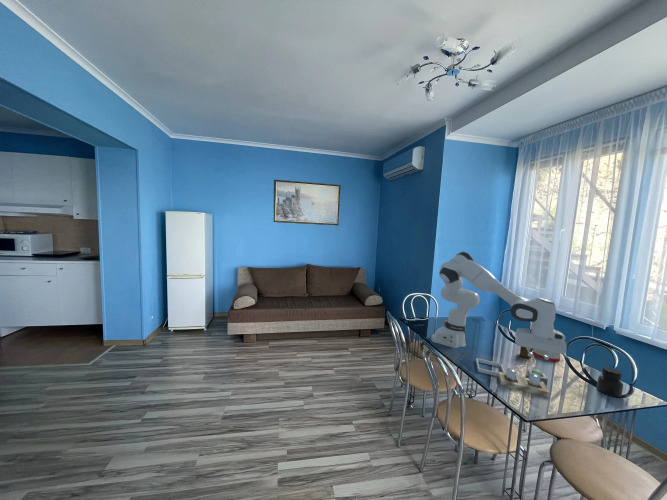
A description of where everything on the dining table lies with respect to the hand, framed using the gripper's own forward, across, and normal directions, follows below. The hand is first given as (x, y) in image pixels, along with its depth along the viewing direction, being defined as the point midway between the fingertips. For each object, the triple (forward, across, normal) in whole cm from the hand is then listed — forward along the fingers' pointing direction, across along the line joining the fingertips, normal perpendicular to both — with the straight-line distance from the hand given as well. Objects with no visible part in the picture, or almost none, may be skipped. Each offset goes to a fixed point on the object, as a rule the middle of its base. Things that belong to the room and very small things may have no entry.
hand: (538, 357), depth 134 cm
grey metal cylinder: (+16, 0, 0) cm, 17 cm away
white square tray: (+17, -18, +11) cm, 27 cm away
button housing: (+17, +4, +11) cm, 21 cm away
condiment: (+17, +5, +41) cm, 45 cm away
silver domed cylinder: (+16, -10, 0) cm, 19 cm away
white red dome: (+17, +19, +51) cm, 57 cm away
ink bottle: (+17, +36, +17) cm, 43 cm away
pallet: (+17, -5, 0) cm, 18 cm away
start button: (+15, +4, +11) cm, 19 cm away
